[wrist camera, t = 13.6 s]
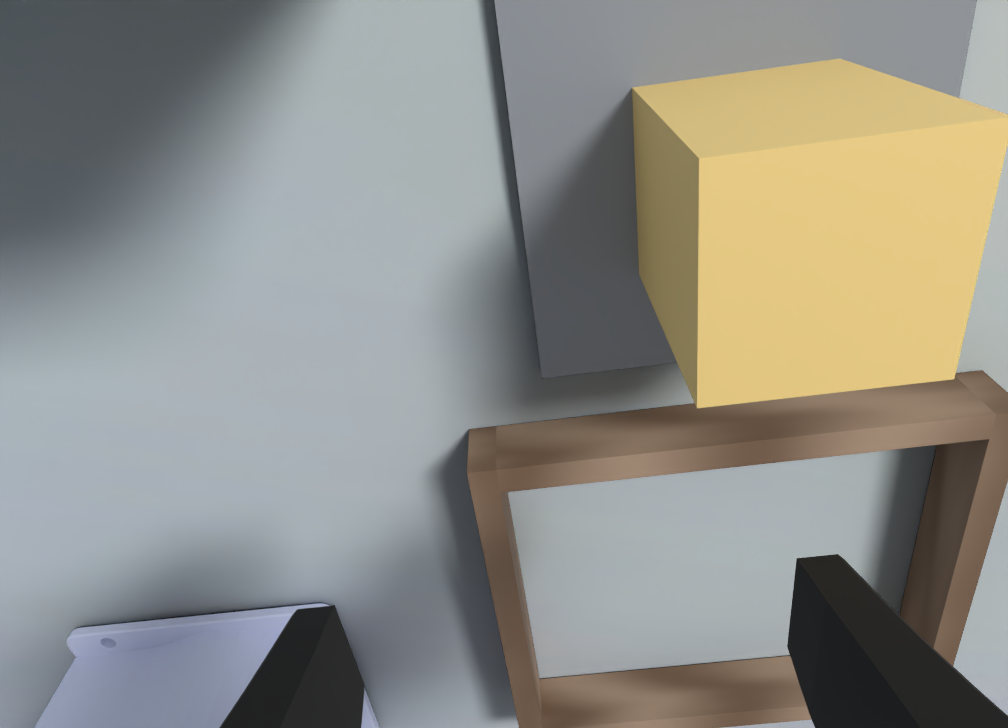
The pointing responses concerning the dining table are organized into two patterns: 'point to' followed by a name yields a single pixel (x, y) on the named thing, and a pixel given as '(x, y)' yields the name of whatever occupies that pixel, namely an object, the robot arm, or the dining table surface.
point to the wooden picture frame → (732, 443)
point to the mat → (610, 132)
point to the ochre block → (811, 227)
